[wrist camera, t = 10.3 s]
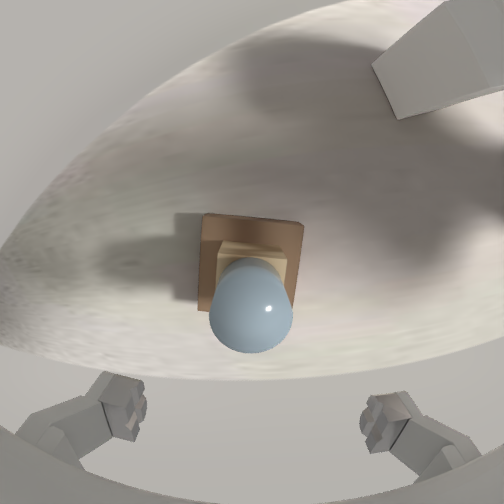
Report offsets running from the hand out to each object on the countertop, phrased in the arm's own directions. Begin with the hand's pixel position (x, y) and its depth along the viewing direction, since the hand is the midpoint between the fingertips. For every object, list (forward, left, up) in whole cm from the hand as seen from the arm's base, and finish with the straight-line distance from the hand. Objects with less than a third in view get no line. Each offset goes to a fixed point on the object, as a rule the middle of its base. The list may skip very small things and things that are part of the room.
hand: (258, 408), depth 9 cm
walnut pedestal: (0, 0, -20) cm, 20 cm away
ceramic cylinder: (0, 0, -13) cm, 13 cm away
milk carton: (-16, -22, -21) cm, 34 cm away
